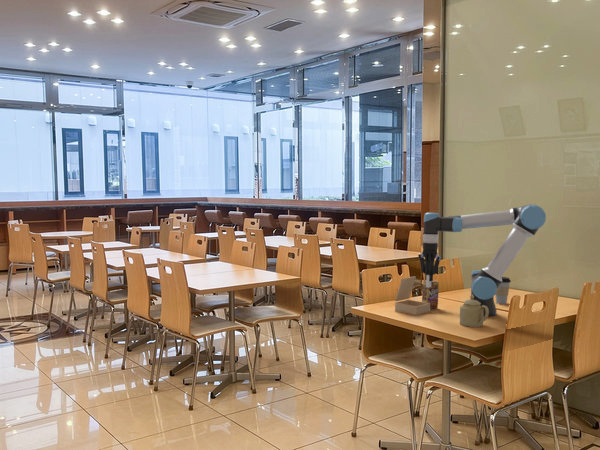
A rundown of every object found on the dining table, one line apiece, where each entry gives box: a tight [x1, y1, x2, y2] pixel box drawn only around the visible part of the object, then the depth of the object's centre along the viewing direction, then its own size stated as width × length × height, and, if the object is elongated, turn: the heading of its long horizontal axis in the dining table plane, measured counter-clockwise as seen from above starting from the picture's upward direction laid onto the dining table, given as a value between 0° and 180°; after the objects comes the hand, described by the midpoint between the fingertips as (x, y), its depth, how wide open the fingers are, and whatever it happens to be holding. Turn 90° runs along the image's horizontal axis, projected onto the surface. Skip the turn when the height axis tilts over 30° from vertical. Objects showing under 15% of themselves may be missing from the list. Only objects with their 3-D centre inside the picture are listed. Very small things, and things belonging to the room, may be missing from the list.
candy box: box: [421, 280, 440, 310], centre depth 313 cm, size 9×4×15 cm, turn 123°
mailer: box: [394, 299, 431, 316], centre depth 305 cm, size 14×13×4 cm
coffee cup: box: [494, 276, 511, 305], centre depth 333 cm, size 9×9×15 cm
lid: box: [394, 275, 417, 302], centre depth 308 cm, size 14×13×1 cm
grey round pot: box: [459, 294, 489, 328], centre depth 276 cm, size 15×11×15 cm
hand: (428, 287), depth 297 cm, fingers closed
